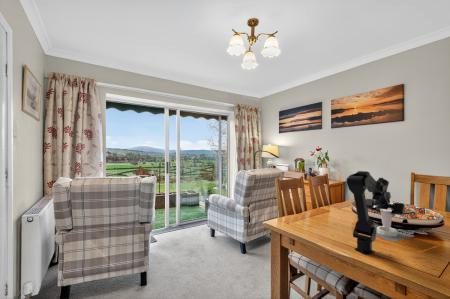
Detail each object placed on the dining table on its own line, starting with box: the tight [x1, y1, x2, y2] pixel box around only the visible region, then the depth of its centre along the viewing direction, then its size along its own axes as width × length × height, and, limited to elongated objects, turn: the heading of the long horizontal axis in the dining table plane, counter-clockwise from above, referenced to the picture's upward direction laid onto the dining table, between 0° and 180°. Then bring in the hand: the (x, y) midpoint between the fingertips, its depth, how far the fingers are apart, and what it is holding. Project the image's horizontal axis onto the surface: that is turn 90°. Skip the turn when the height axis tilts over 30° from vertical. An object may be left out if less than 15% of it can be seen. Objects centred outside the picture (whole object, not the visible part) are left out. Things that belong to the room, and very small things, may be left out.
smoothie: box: [380, 208, 393, 228], centre depth 128 cm, size 6×6×14 cm
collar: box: [376, 225, 398, 237], centre depth 128 cm, size 10×10×2 cm
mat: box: [375, 227, 414, 243], centre depth 128 cm, size 20×18×1 cm
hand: (387, 214), depth 129 cm, fingers closed on smoothie, 6 cm apart
